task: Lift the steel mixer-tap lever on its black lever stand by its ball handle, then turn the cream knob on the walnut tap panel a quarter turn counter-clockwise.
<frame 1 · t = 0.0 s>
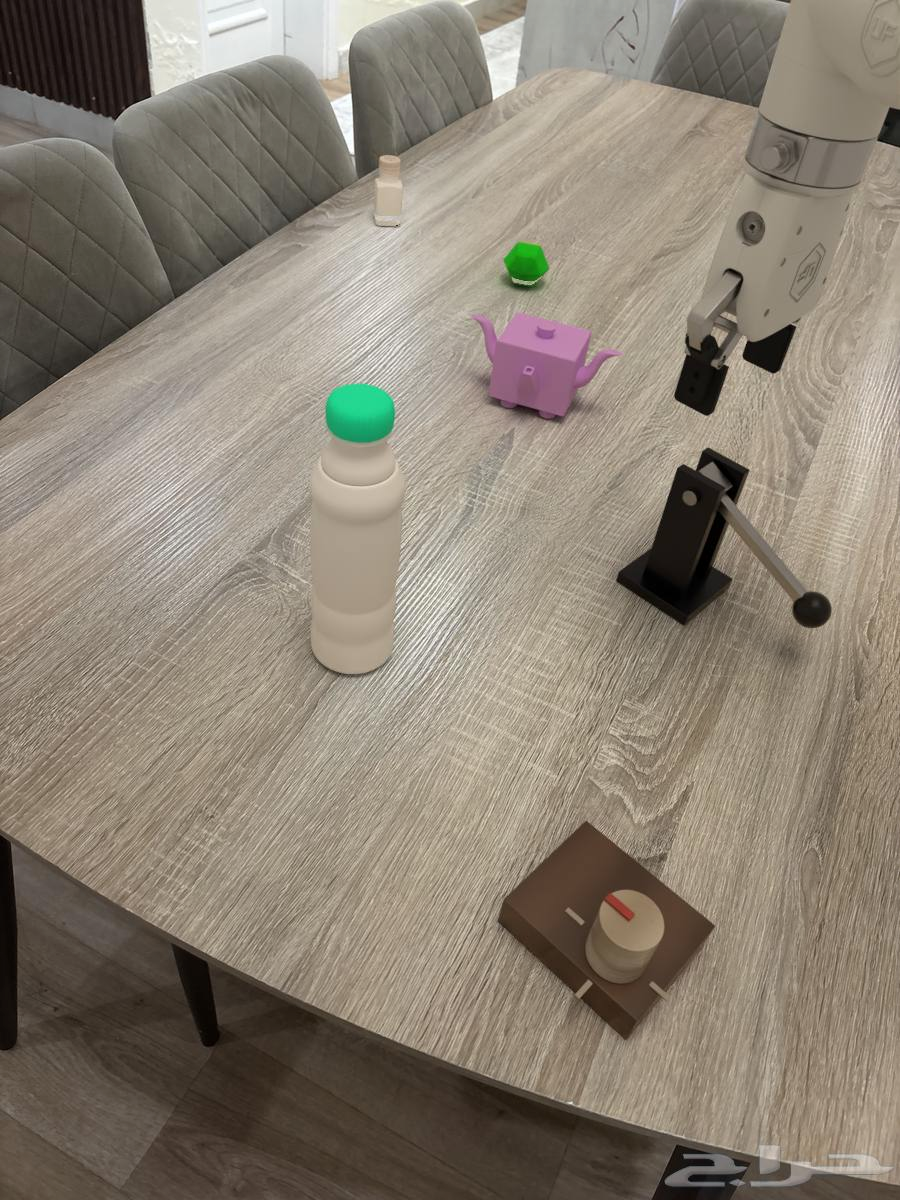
hand: (727, 385, 72), 24 cm above the table, tool pointing down, fingers open, 9 cm apart
green faceted polyhedron: (524, 281, 136), on the table
tap panel: (600, 933, 64), on the table
teapot: (531, 403, 113), on the table
faucet lever: (760, 547, 82), point 9 cm above the table, hinge at -25.0°
tap knob: (624, 935, 58), point 5 cm above the table, hinge at 0.0°
water bottle: (352, 649, 81), on the table
salt shaker: (386, 223, 147), on the table
black lever stand: (672, 584, 91), on the table
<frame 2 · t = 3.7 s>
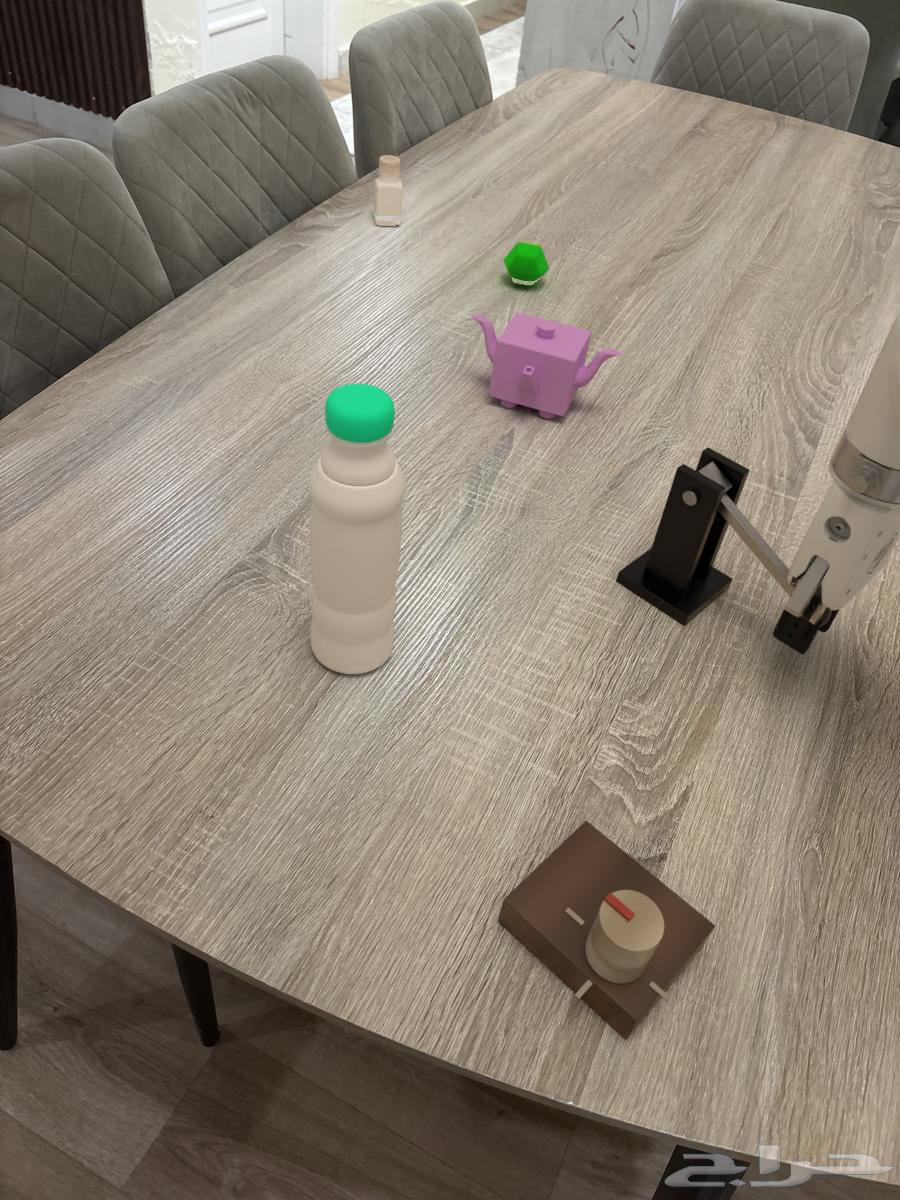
hand: (800, 631, 83), 3 cm above the table, tool pointing down, fingers closed on faucet lever, 3 cm apart
faucet lever: (760, 547, 82), point 9 cm above the table, hinge at -25.0°, touching gripper
everything else where it was.
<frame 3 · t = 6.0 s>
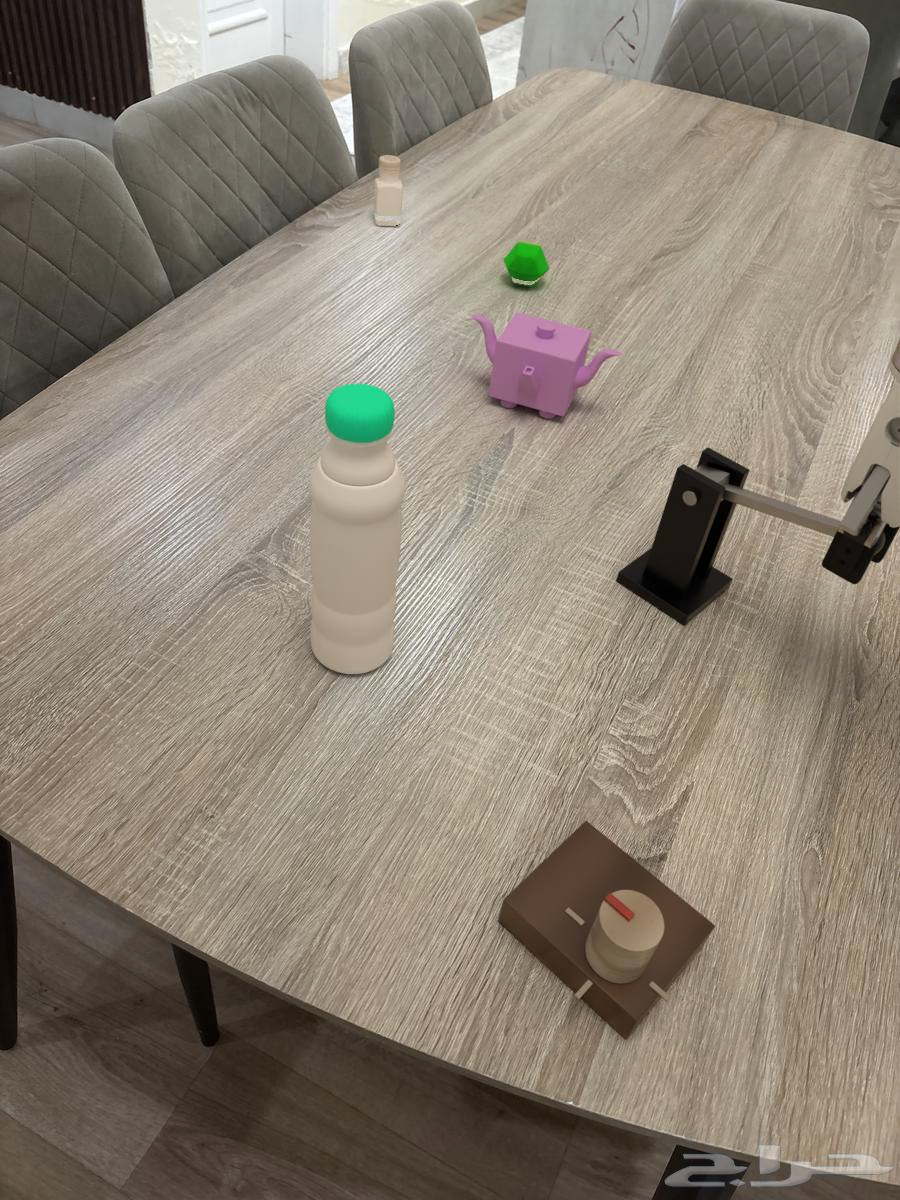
hand: (851, 562, 76), 12 cm above the table, tool pointing down, fingers closed on faucet lever, 3 cm apart
faucet lever: (782, 510, 79), point 13 cm above the table, hinge at 12.0°, touching gripper
everything else where it was.
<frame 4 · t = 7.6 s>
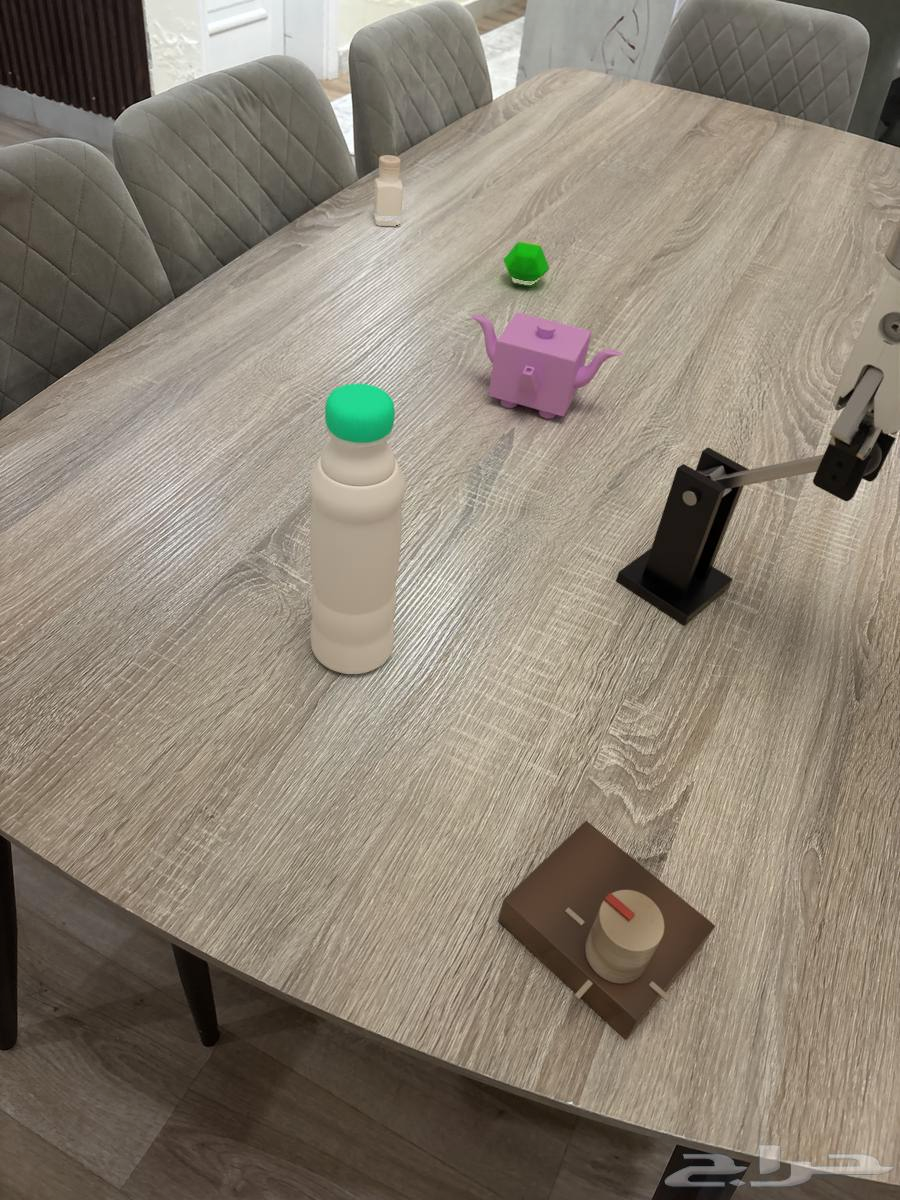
hand: (844, 480, 73), 19 cm above the table, tool pointing down, fingers closed on faucet lever, 3 cm apart
faucet lever: (779, 471, 77), point 17 cm above the table, hinge at 40.7°, touching gripper
everything else where it was.
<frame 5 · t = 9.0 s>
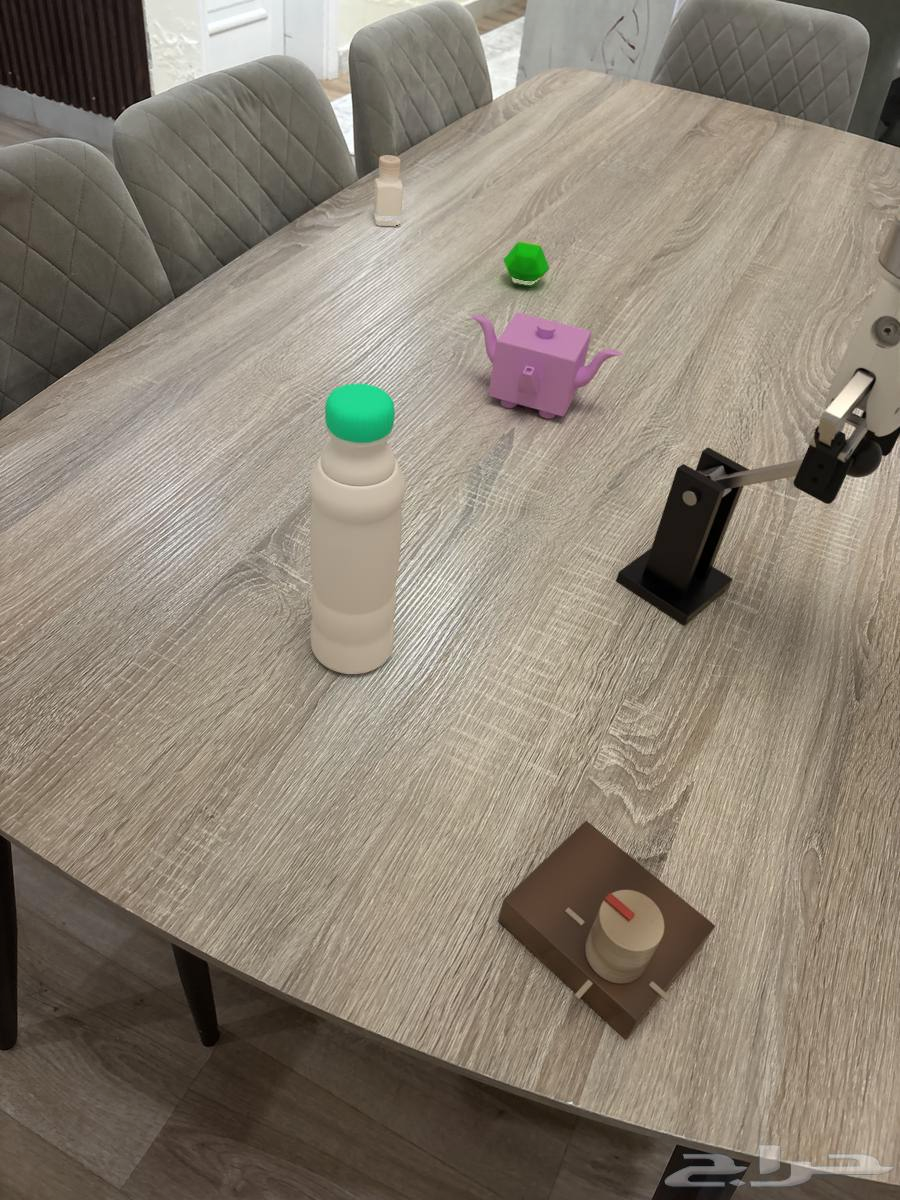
hand: (842, 469, 73), 19 cm above the table, tool pointing down, fingers open, 9 cm apart
faucet lever: (779, 471, 77), point 17 cm above the table, hinge at 40.4°
everything else where it was.
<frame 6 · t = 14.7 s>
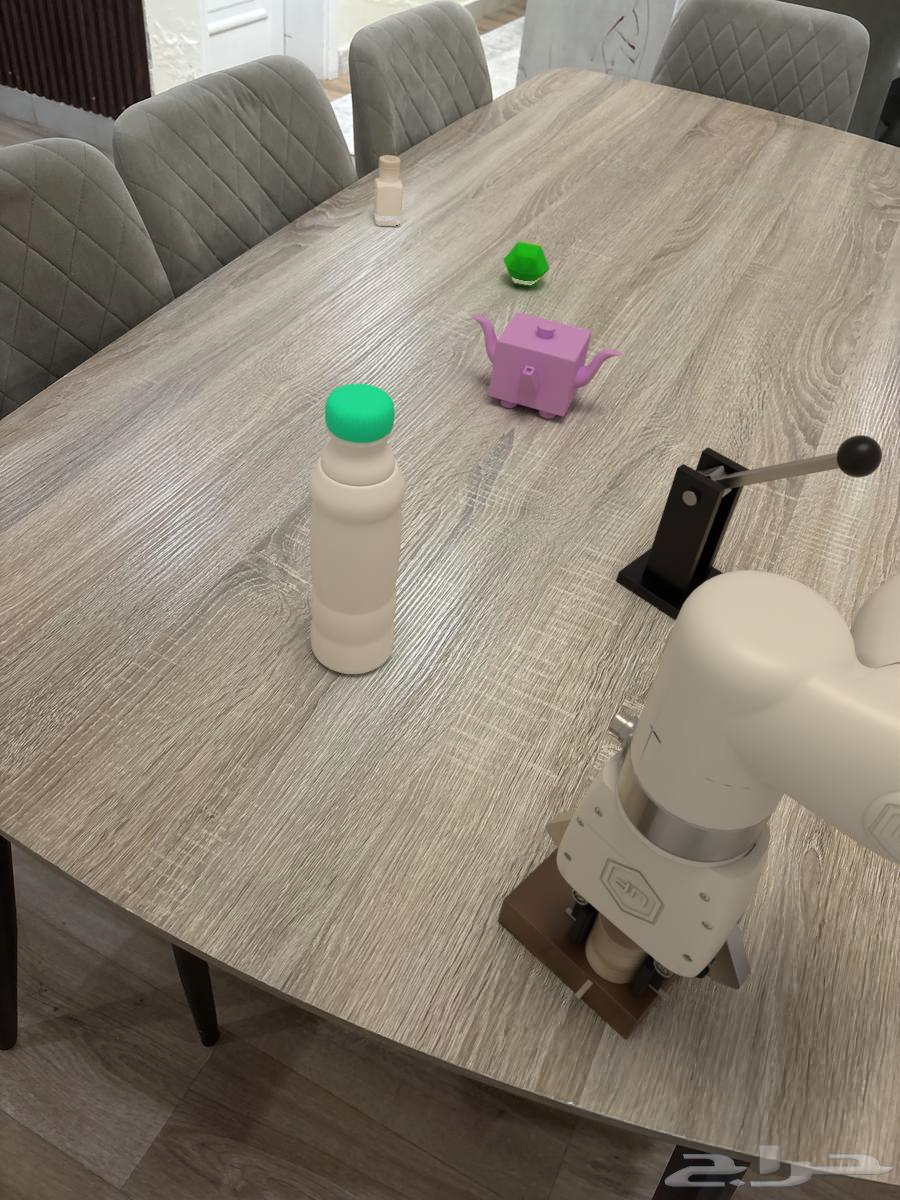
hand: (616, 951, 60), 3 cm above the table, tool pointing down, fingers closed on tap knob, tap panel, 4 cm apart
tap knob: (624, 935, 58), point 5 cm above the table, hinge at 0.0°, touching gripper
everything else where it was.
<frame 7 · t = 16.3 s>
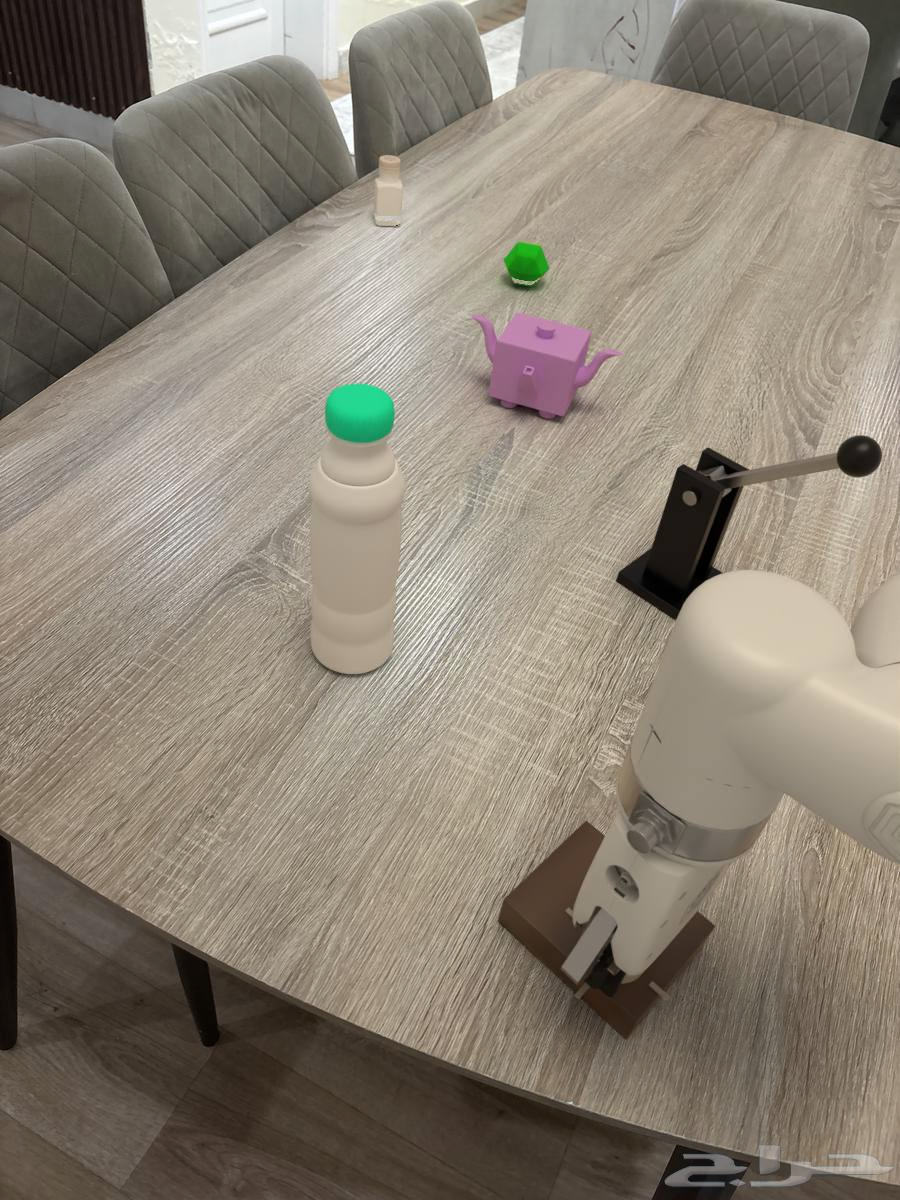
hand: (616, 950, 60), 3 cm above the table, tool pointing down, fingers closed on tap knob, 4 cm apart
tap knob: (624, 935, 58), point 5 cm above the table, hinge at 87.0°, touching gripper
everything else where it was.
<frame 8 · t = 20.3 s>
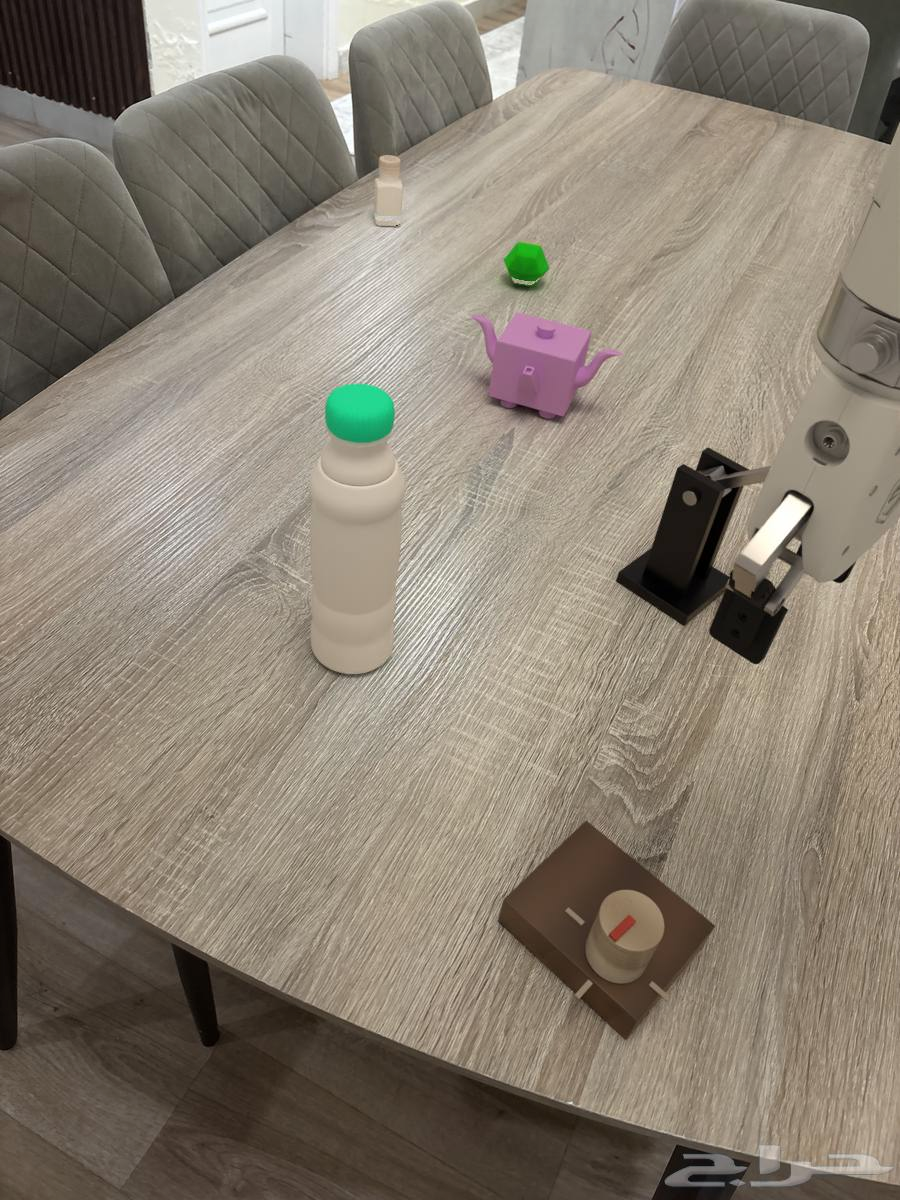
hand: (779, 606, 54), 24 cm above the table, tool pointing down, fingers open, 9 cm apart
tap knob: (624, 935, 58), point 5 cm above the table, hinge at 87.1°
everything else where it was.
at the end: faucet lever reached +41° during the clip, +40° at the end; faucet lever at +40° (first picture: -25°); tap knob at +87° (first picture: +0°) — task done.
